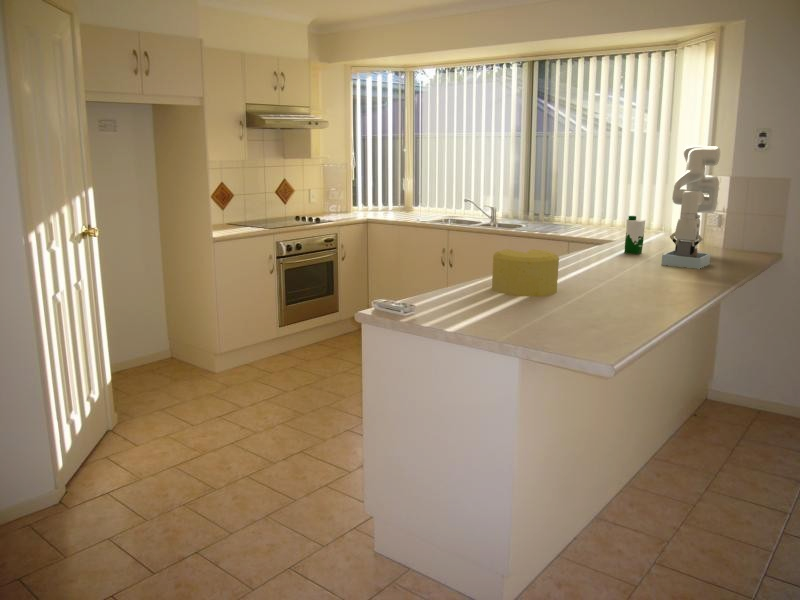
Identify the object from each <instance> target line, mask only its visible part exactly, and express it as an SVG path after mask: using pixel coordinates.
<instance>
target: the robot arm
mask: <svg viewBox="0 0 800 600" xmlns="http://www.w3.org/2000/svg"><path fill="white" fill-rule="evenodd" d="M683 157H684V159H685V162H686V168H685V173H683V174H682V175H681V176H680V177H678V179H677V180H675V182H674V186H673V190H672V199H671V200H672V202H673V203H674V204H675V205H678V206H679V205H681V207H680V214H679V215H680V216H679V218H678V220H677V223H676V226H675V227H676V228H675V231H674V232H673V233H672V234H671V235H670V236H669V239H671V240H672V242H673V243H674V245H675V248H674V250H675V251H677V242H679V241H688V242H691V244H692V246H691V249H690V255H692V254H693V253H694V251H695V248H698V245H699V244H700V243H701V242H702V241H704V239H703V238H702V236H701V235H700V230H701V228H700V227H701V219H700V218H701V214H713V213H714V212H715V213H716V210H717V208H718V207H717V206H718V198H719V197H718V196H719V189H720V187H719V185H720V180H719V178H718V177H717V176H715V175H706V166H710V167H714V166H715V167H716V166H717V165H718V164H719V162H720V158H721V149H720V148H719V147H718V146H711V145H710V146H707V145H706V146H705V145H704V146H703V145H691V146H687V147H685V148H684V150H683ZM684 186H686V189H681V188H682V187H684ZM699 213H700V214H699ZM697 253H701V250H700V249H697Z"/></svg>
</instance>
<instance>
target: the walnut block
mask: <svg viewBox="0 0 800 600" xmlns="http://www.w3.org/2000/svg"><path fill="white" fill-rule="evenodd" d="M697 250H699V249H698V247H697V248H695V251H694V253H693V254H692V256H691V257H694V258H696V257H697Z"/></svg>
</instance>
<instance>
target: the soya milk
mask: <svg viewBox="0 0 800 600" xmlns="http://www.w3.org/2000/svg"><path fill="white" fill-rule="evenodd" d="M625 226H626V231H625V239H624V252H623V253H624V254H632V255H639V254H642V252H643V246H644V237H645V226H646V219H645V220H644V219H637V216H636V215H628V217H627V219H626V225H625Z"/></svg>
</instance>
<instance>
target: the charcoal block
mask: <svg viewBox="0 0 800 600" xmlns="http://www.w3.org/2000/svg"><path fill="white" fill-rule="evenodd" d="M691 246H692V244H691V242H688V241H679V242H677V251H676V256H684V257H691V256H692V255H690V249H691Z"/></svg>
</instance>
